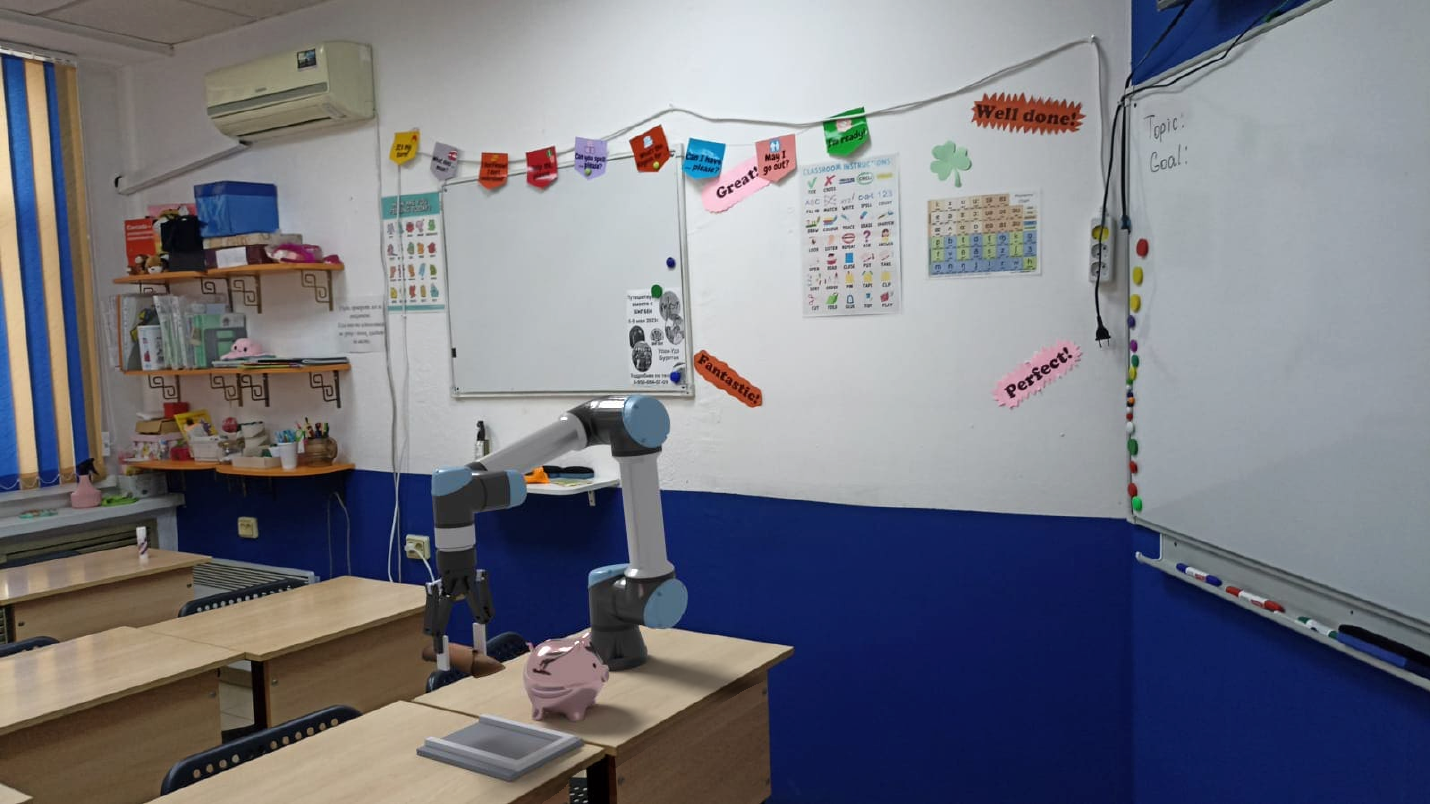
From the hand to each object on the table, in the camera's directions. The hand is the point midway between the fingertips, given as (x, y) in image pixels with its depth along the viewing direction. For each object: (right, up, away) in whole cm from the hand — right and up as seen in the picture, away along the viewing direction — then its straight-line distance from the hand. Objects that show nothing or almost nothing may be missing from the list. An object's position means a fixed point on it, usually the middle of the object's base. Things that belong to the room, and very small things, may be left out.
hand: (462, 662), depth 190 cm
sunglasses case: (0, -1, 0) cm, 1 cm away
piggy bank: (+18, -14, +14) cm, 27 cm away
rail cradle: (+8, -15, -4) cm, 18 cm away
